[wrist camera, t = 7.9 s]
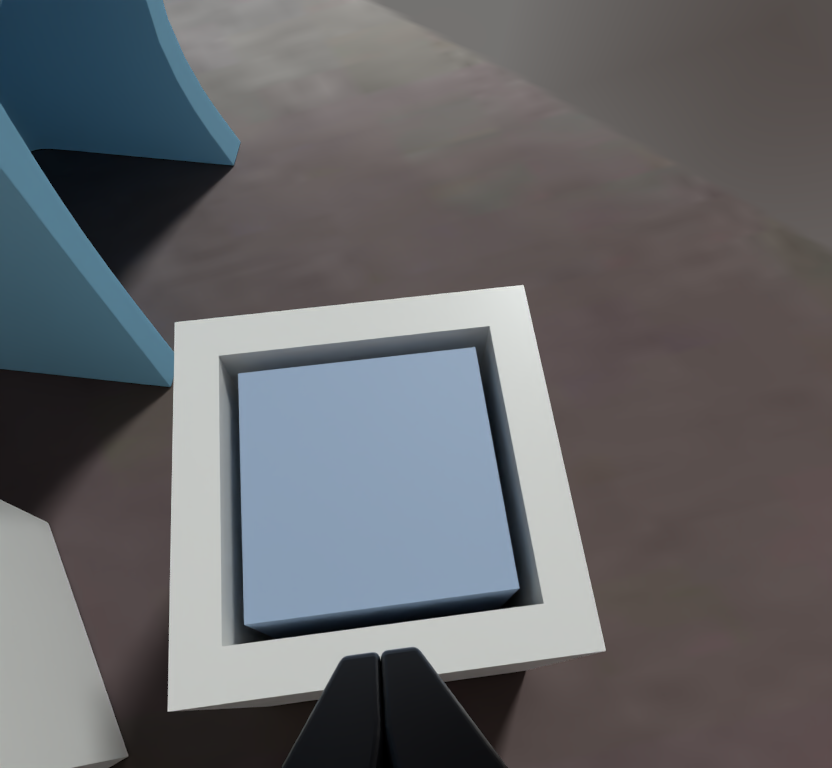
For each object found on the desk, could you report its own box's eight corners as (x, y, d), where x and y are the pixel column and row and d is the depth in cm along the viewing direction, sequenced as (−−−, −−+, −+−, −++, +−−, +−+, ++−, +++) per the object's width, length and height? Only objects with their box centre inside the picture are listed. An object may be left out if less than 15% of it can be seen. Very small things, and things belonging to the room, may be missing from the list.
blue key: (480, 628, 18) (519, 588, 11) (305, 652, 17) (244, 624, 11) (454, 463, 19) (475, 347, 13) (296, 482, 19) (237, 373, 13)
